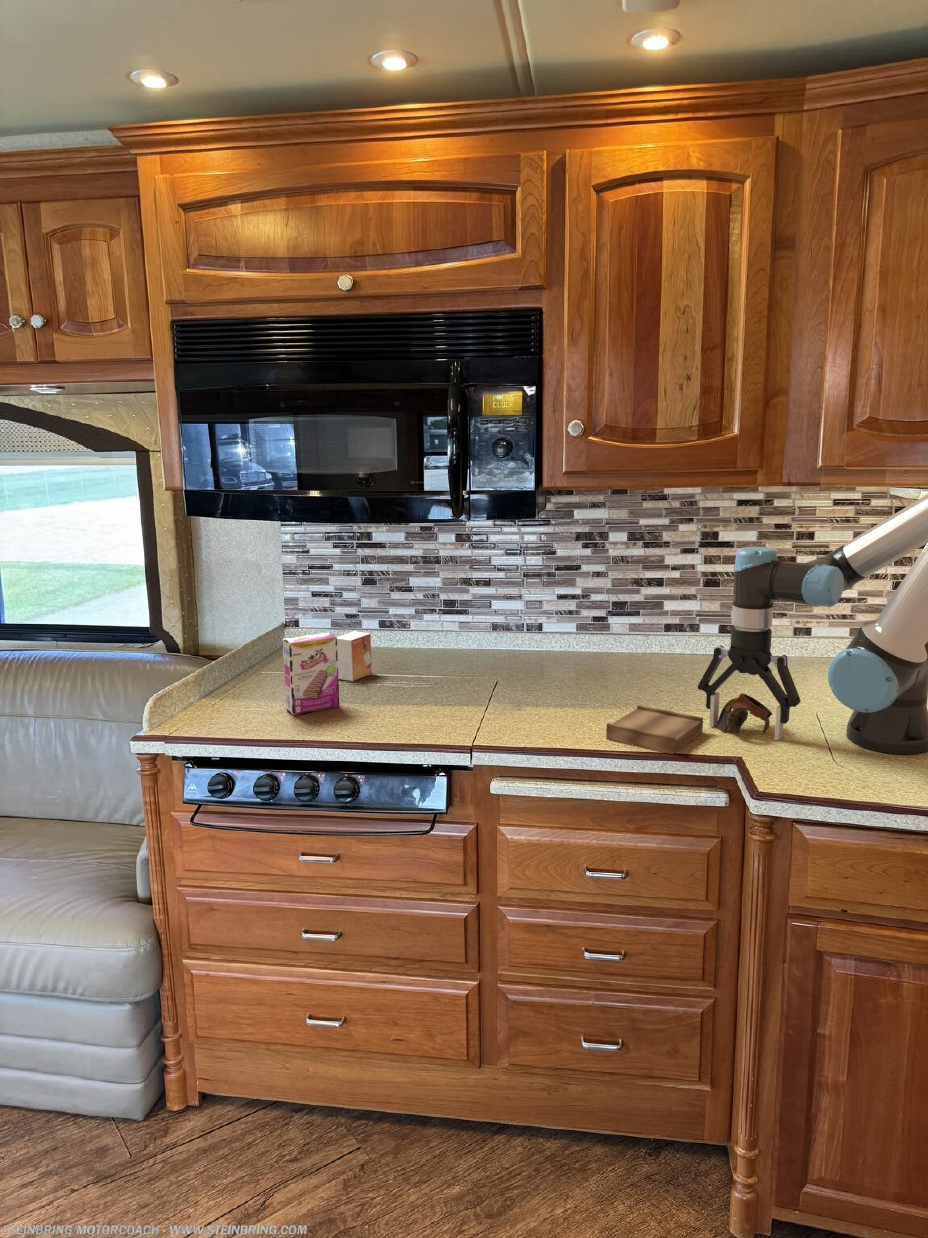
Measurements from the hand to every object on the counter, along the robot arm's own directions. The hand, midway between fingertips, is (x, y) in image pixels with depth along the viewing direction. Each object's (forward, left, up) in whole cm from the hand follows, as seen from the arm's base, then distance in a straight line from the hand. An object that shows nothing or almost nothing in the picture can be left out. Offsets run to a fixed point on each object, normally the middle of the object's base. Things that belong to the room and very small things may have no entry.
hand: (745, 731), depth 174 cm
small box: (+93, +16, 0) cm, 94 cm away
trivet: (+14, +12, 0) cm, 18 cm away
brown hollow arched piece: (+1, 0, -1) cm, 1 cm away
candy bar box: (+83, +39, 0) cm, 92 cm away
